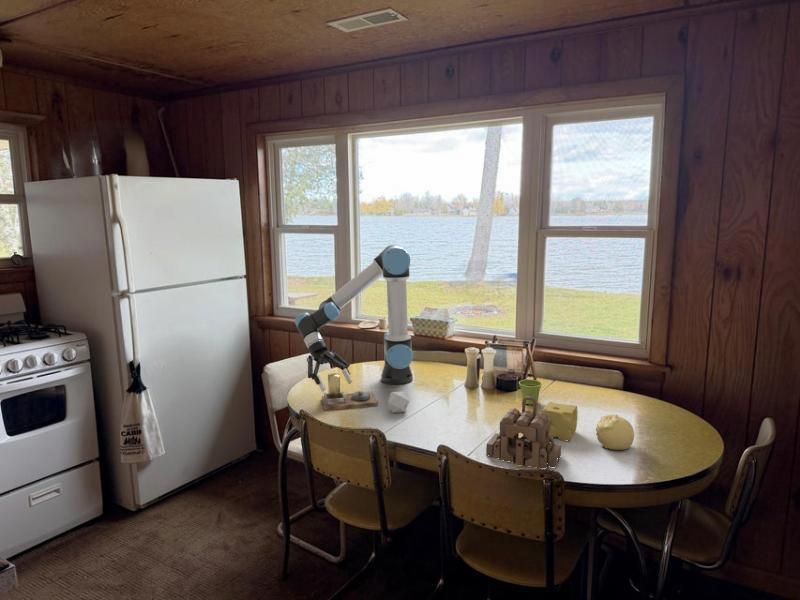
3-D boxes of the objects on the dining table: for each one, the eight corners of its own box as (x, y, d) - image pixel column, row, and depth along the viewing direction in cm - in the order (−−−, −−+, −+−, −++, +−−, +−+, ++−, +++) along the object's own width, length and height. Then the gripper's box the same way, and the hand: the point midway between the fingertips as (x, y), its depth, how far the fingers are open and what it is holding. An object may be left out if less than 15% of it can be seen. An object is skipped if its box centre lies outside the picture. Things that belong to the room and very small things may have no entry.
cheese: (569, 442, 184) (570, 414, 183) (539, 436, 190) (539, 409, 188) (577, 431, 193) (578, 405, 192) (547, 425, 199) (548, 400, 197)
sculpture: (596, 437, 188) (597, 407, 187) (633, 442, 184) (634, 412, 182) (594, 450, 178) (595, 419, 176) (633, 456, 173) (635, 424, 172)
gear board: (372, 394, 235) (372, 385, 235) (377, 405, 222) (377, 396, 221) (322, 399, 231) (321, 389, 230) (324, 410, 217) (324, 400, 217)
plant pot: (527, 408, 216) (528, 387, 215) (513, 401, 225) (514, 381, 223) (546, 404, 220) (546, 384, 219) (531, 397, 228) (532, 378, 227)
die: (404, 418, 210) (414, 395, 213) (384, 408, 210) (395, 385, 212) (400, 417, 218) (410, 396, 221) (381, 408, 218) (392, 386, 220)
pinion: (340, 397, 228) (339, 372, 226) (341, 401, 223) (340, 376, 221) (328, 398, 227) (327, 373, 225) (329, 402, 222) (328, 377, 220)
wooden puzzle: (484, 458, 174) (484, 404, 171) (497, 441, 186) (498, 390, 183) (553, 472, 164) (555, 415, 160) (562, 453, 176) (564, 399, 173)
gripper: (336, 344, 241) (357, 384, 233) (287, 355, 225) (308, 398, 216) (342, 335, 237) (364, 375, 228) (293, 345, 220) (315, 388, 212)
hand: (337, 386), depth 222 cm, fingers open, 13 cm apart
